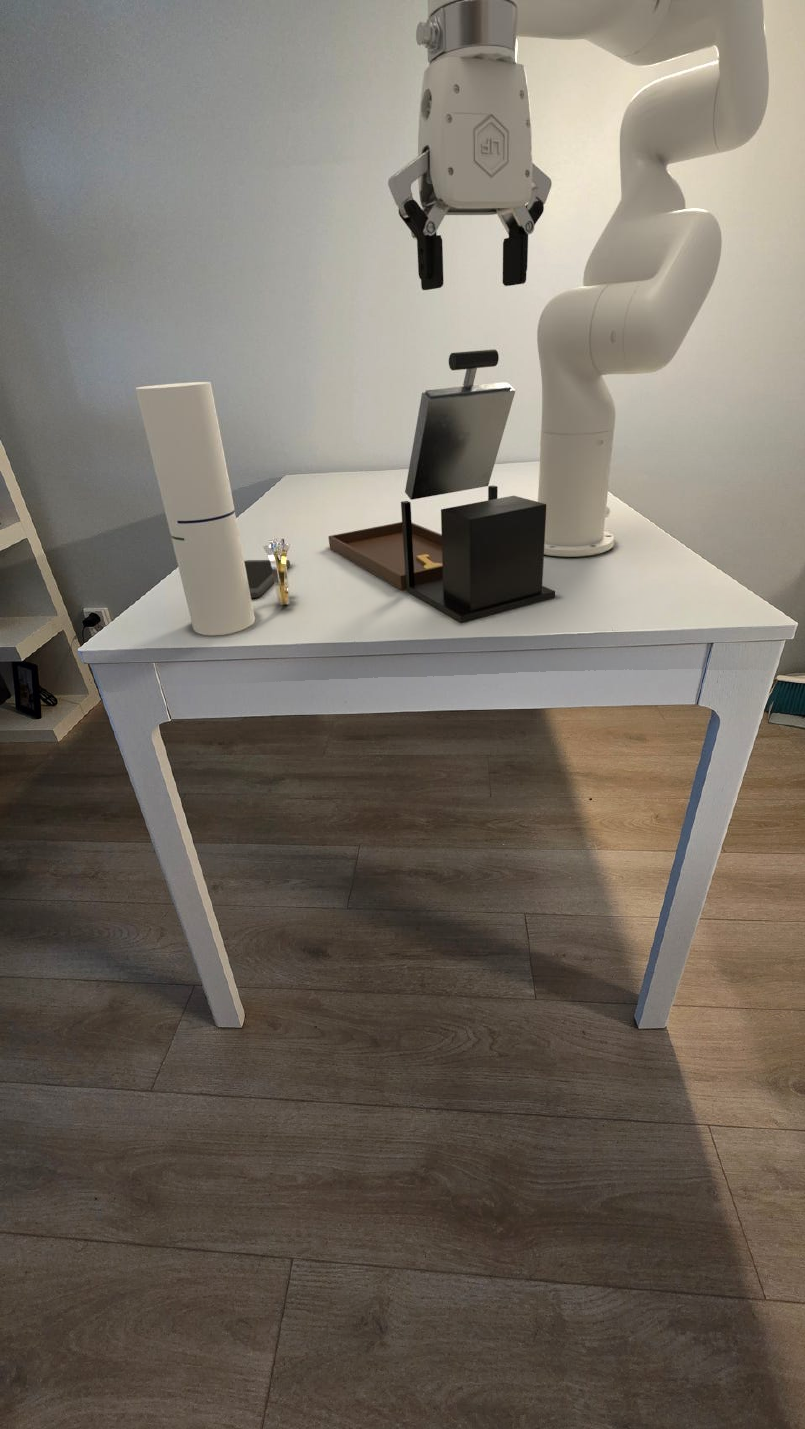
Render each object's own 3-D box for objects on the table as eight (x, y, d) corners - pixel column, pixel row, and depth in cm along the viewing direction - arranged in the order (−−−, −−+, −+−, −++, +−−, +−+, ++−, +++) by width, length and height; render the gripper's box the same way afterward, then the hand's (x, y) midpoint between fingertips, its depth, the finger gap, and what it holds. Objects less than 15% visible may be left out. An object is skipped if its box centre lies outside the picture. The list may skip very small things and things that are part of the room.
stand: (405, 590, 81) (400, 501, 76) (492, 570, 86) (493, 485, 81) (461, 623, 71) (459, 523, 66) (555, 597, 76) (561, 502, 71)
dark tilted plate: (410, 500, 76) (402, 489, 77) (488, 486, 80) (479, 476, 81) (435, 362, 63) (425, 351, 64) (526, 354, 67) (515, 344, 68)
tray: (329, 548, 100) (328, 536, 99) (408, 532, 105) (407, 520, 104) (401, 590, 82) (400, 576, 81) (492, 568, 87) (492, 554, 86)
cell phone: (205, 598, 83) (204, 592, 83) (244, 564, 95) (243, 559, 94) (259, 598, 82) (258, 592, 81) (292, 564, 94) (291, 559, 93)
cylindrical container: (239, 636, 72) (189, 386, 59) (181, 634, 73) (120, 390, 61) (264, 612, 78) (223, 380, 65) (210, 611, 79) (159, 384, 67)
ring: (295, 613, 77) (285, 547, 73) (268, 615, 77) (257, 549, 73) (301, 593, 83) (291, 531, 79) (276, 595, 83) (265, 533, 79)
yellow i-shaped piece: (428, 570, 85) (428, 573, 86) (447, 567, 86) (447, 570, 86) (410, 556, 91) (410, 559, 91) (428, 553, 92) (428, 556, 92)
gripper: (404, 19, 49) (416, 287, 58) (580, 41, 55) (567, 280, 64) (363, 55, 55) (380, 294, 64) (527, 71, 61) (521, 286, 70)
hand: (474, 286), depth 64 cm, fingers open, 9 cm apart
